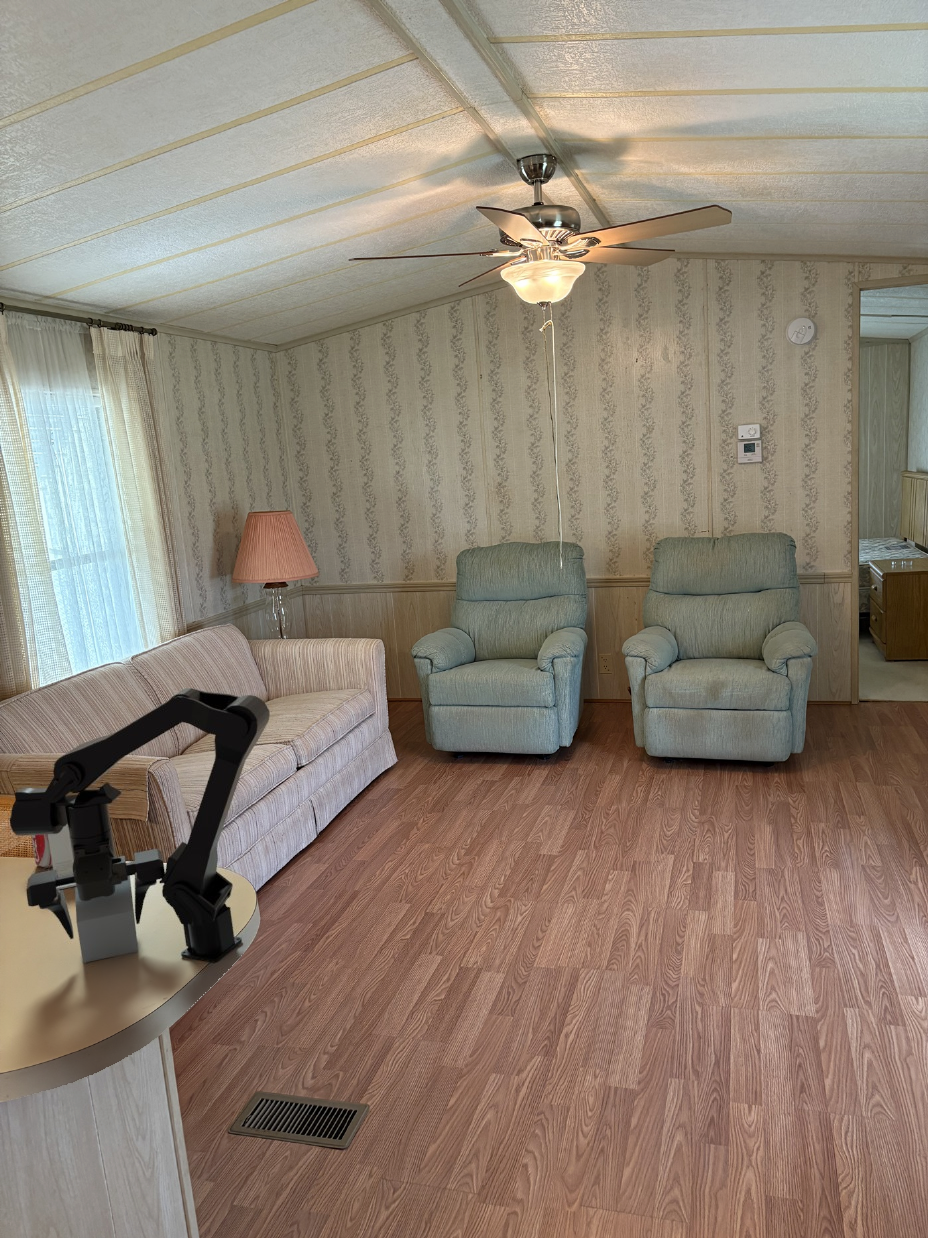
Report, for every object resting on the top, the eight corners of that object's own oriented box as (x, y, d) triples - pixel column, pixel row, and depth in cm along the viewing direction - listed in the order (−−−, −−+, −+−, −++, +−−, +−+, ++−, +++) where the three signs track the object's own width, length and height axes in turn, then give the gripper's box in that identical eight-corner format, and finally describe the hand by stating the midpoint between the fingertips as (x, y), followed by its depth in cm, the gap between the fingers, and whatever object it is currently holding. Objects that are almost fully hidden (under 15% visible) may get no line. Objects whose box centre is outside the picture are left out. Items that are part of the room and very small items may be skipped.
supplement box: (98, 874, 173) (87, 808, 171) (54, 883, 171) (43, 816, 169) (99, 860, 180) (89, 796, 178) (57, 868, 177) (46, 803, 175)
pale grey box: (133, 912, 148) (129, 872, 144) (138, 951, 142) (133, 911, 138) (80, 922, 146) (74, 882, 141) (82, 963, 140) (76, 922, 135)
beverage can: (58, 870, 177) (48, 808, 175) (29, 870, 178) (18, 808, 176) (78, 856, 183) (68, 796, 181) (49, 856, 184) (39, 796, 182)
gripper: (16, 865, 128) (34, 972, 131) (160, 836, 135) (174, 939, 137) (22, 837, 139) (38, 936, 141) (155, 811, 145) (169, 907, 148)
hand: (105, 930), depth 142 cm, fingers open, 9 cm apart
